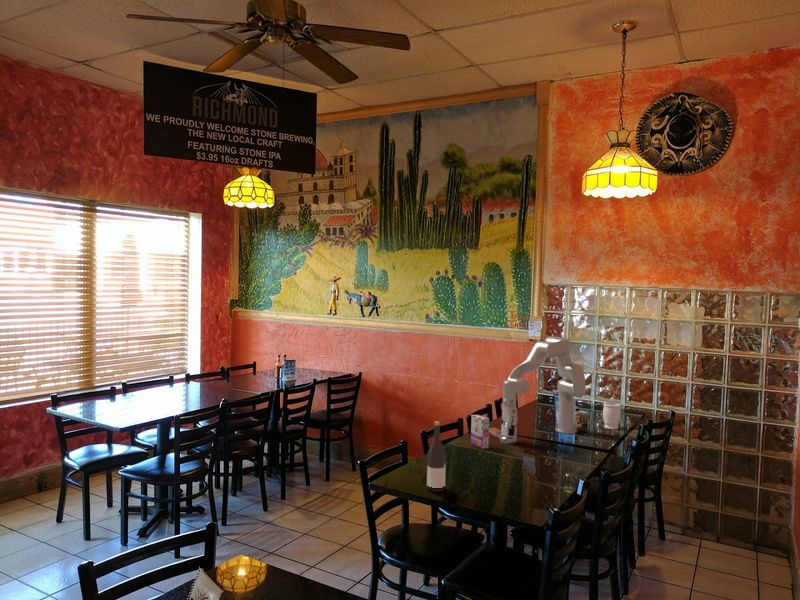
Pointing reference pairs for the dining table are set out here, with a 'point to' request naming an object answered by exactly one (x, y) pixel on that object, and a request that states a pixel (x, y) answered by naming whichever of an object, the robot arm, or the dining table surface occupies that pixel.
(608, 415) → the jar
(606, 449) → the dining table surface
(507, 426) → the socket
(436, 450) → the wine bottle
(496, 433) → the small pan
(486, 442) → the candy bar box
